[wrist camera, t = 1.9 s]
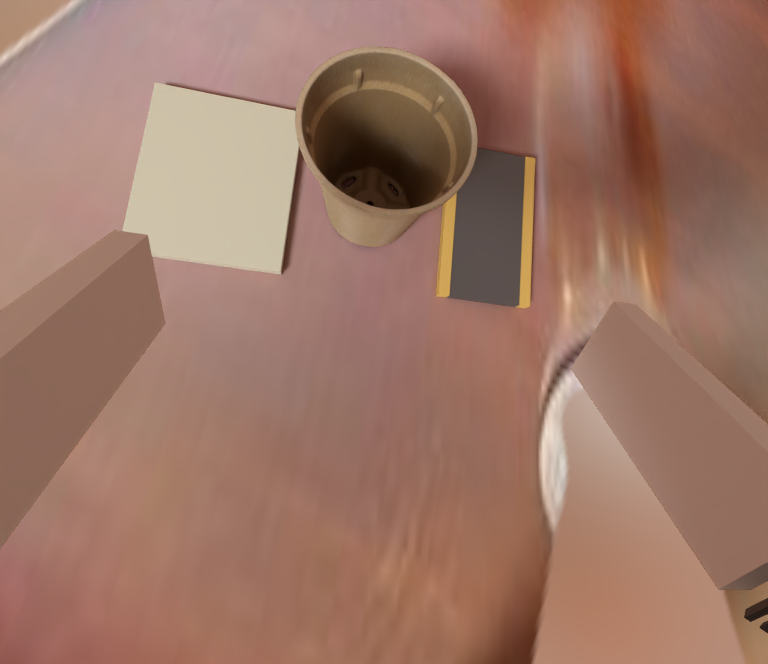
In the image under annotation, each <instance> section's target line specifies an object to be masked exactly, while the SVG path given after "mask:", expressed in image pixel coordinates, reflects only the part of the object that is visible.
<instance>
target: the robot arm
mask: <svg viewBox="0 0 768 664" xmlns="http://www.w3.org/2000/svg"><path fill="white" fill-rule="evenodd" d="M164 325H165V319H164V314H163V309H162V304H161V299H160V294H159V289H158V284H157V278H156V273H155V268H154V263H153V258H152V253H151V248H150V243H149V238H148V235H146V234H139V233H132V232H125V231H118V230H114V231H113V232H111V233H110V234H108V235H107V236H106V237H104V238H103V239H101V240H100V241H98V242H97V243H96V244H94V245H93V246H91V247H90V248H89V249H87V250H86V251H84V252H83V253H82V254H80V255H79V256H77V257H76V258H74V259H73V260H72V261H70V262H69V263H67V264H66V265H65V266H63V267H62V268H60V269H59V270H57V271H56V272H55V273H53V274H52V275H50V276H49V277H48V278H46V279H45V280H43V281H42V282H40V283H39V284H38V285H36V286H35V287H33V288H32V289H31V290H29V291H28V292H26V293H25V294H23V295H22V296H21V297H19V298H18V299H16V300H15V301H14V302H12V303H11V304H9V305H8V306H6V307H5V308H4V309H2V310H1V311H0V549H1V547H2V546H3V545H4V543H5V542H6V541H7V539H8V538H9V536H10V535H11V534H12V532H13V531H14V530H15V528H16V527H17V525H18V524H19V523H20V521H21V520H22V519H23V517H24V516H25V515H26V513H27V512H28V510H29V509H30V508H31V506H32V505H33V504H34V502H35V501H36V500H37V498H38V497H39V495H40V494H41V493H42V491H43V490H44V489H45V487H46V486H47V485H48V483H49V482H50V480H51V479H52V478H53V476H54V475H55V474H56V472H57V471H58V469H59V468H60V467H61V465H62V464H63V463H64V461H65V460H66V459H67V457H68V456H69V454H70V453H71V452H72V450H73V449H74V448H75V446H76V445H77V444H78V442H79V441H80V439H81V438H82V437H83V435H84V434H85V433H86V431H87V430H88V429H89V427H90V426H91V424H92V423H93V422H94V420H95V419H96V418H97V416H98V415H99V413H100V412H101V411H102V409H103V408H104V407H105V405H106V404H107V403H108V401H109V400H110V398H111V397H112V396H113V394H114V393H115V392H116V390H117V389H118V388H119V386H120V385H121V383H122V382H123V381H124V379H125V378H126V377H127V375H128V374H129V373H130V371H131V370H132V368H133V367H134V366H135V364H136V363H137V362H138V360H139V359H140V357H141V356H142V355H143V353H144V352H145V351H146V349H147V348H148V347H149V345H150V344H151V342H152V341H153V340H154V338H155V337H156V336H157V334H158V333H159V332H160V330H161V329H162V327H163V326H164ZM571 370H572V371H573V373H574V374H575V376H576V377H577V379H578V380H579V382H580V383H581V385H582V386H583V388H584V389H585V391H586V392H587V393H588V395H589V397H590V398H591V400H592V401H593V403H594V404H595V406H596V407H597V409H598V410H599V412H600V413H601V414H602V416H603V418H604V419H605V420H606V422H607V424H608V425H609V426H610V428H611V430H612V431H613V433H614V434H615V436H616V437H617V438H618V440H619V441H620V443H621V444H622V446H623V447H624V449H625V450H626V452H627V453H628V455H629V456H630V458H631V459H632V461H633V462H634V464H635V465H636V467H637V468H638V470H639V471H640V473H641V474H642V476H643V477H644V479H645V480H646V482H647V483H648V485H649V486H650V488H651V489H652V491H653V492H654V494H655V495H656V497H657V498H658V500H659V501H660V503H661V504H662V506H663V507H664V509H665V510H666V512H667V513H668V515H669V516H670V518H671V519H672V521H673V522H674V524H675V525H676V527H677V528H678V530H679V531H680V533H681V534H682V535H683V537H684V539H685V540H686V542H687V543H688V545H689V546H690V548H691V549H692V550H693V552H694V554H695V555H696V557H697V558H698V560H699V561H700V563H701V564H702V565H703V567H704V569H705V570H706V571H707V573H708V574H709V576H710V577H711V579H712V580H713V582H714V583H715V585H716V586H717V588H718V589H720V590H751V589H753V588H755V587H757V586H759V585H761V584H763V583H765V582H766V581H768V424H767V423H766V422H765V421H764V420H763V419H761V418H760V417H759V416H758V415H757V414H756V413H755V412H754V411H753V410H752V409H750V408H749V407H748V406H747V405H746V404H745V403H744V402H743V401H742V400H740V399H739V398H738V397H737V396H736V395H735V394H734V393H733V392H732V391H731V390H729V389H728V388H727V387H726V386H725V385H724V384H723V383H722V382H721V381H720V380H718V379H717V378H716V377H715V376H714V375H713V374H712V373H711V372H710V371H708V370H707V369H706V368H705V367H704V366H703V365H702V364H701V363H700V362H699V361H697V360H696V359H695V358H694V357H693V356H692V355H691V354H690V353H689V352H688V351H686V350H685V349H684V348H683V347H682V346H681V345H680V344H679V343H678V342H677V341H675V340H674V339H673V338H672V337H671V336H670V335H669V334H668V333H667V332H665V331H664V330H663V329H662V328H661V327H660V326H659V325H658V324H657V323H656V322H654V321H653V320H652V319H651V318H650V317H649V316H648V315H647V314H646V313H645V312H643V311H642V310H641V309H640V308H639V307H638V306H637V305H634V304H627V303H620V302H613V303H612V305H611V306H610V308H609V310H608V311H607V313H606V314H605V316H604V317H603V319H602V320H601V322H600V324H599V325H598V327H597V328H596V330H595V331H594V333H593V335H592V336H591V338H590V339H589V341H588V342H587V344H586V346H585V347H584V349H583V350H582V352H581V353H580V355H579V357H578V358H577V360H576V361H575V363H574V364H573V366H572V368H571ZM767 614H768V598H767V599H765V600H763V601H761V602H759V603H757V604H755V605H752V606H751V607H749V608H747V609H746V611H745V616H744V618H746V619H747V620H749V621H750V622H751V621H753V620H756V619H758V618H760V617H762V616H764V615H767ZM760 628H761V629H762V630H764V631H765V632H767V633H768V621H766V622H764V623H763V624H762V625H761V626H760Z"/></svg>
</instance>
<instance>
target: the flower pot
mask: <svg viewBox="0 0 768 664" xmlns="http://www.w3.org/2000/svg"><path fill="white" fill-rule="evenodd" d="M295 128H296V135H297V140H298V144H299V147H300V150H301V152H302V155H303V157H304V160H305V161H306V163H307V165H308V167H309V169H310V170H311V172H312V173H313V175H314V176H315V177H316V178H317V180H318V181H319V182H320V185H321V188H322V192H323V196H324V200H325V205H326V209H327V214H328V217H329V219H330V222H331V223H332V225H333V227H334V228H335V229H336V231H337V232H338V233H339V234H340V235H341V236H343V237H344V238H345V239H347V240H348V241H350V242H352V243H354V244H358V245H363V246H371V247H380V246H384V245H387V244H389V243H392V242H393V241H395V240H397V239H398V238H399V237H400V236H401V235H402V234H403V233H404V232H405V230H406V229H407V228H408V227H409V226H410V225H411V224H412V223H413V222H414V221H415V220H416V219H417V218H418V217H419V216H420V215H421V214H422V213H425V212H428V211H431V210H433V209H435V208H437V207H439V206H441V205H442V204H444V203H445V202H447V201H448V200H449V199H450V198H452V197H453V196H454V195H455V194H456V193H457V192H458V190H459V189H460V188H461V187H462V186H463V184H464V183H465V181H466V180H467V178H468V177H469V175H470V173H471V170H472V168H473V165H474V162H475V159H476V155H477V146H478V136H477V125H476V122H475V118H474V115H473V112H472V110H471V107H470V105H469V103H468V101H467V99H466V97H465V96H464V95H463V93H462V91H461V90H460V89H459V88H458V86H457V85H456V83H455V82H454V81H452V79H450V78H449V76H447V75H446V74H445V73H444V72H443V71H441V70H440V69H439V68H438V67H436V66H435V65H433V64H432V63H430V62H428V61H427V60H425V59H424V58H420V57H419V56H417V55H415V54H412V53H409V52H406V51H402V50H399V49H395V48H388V47H361V48H354V49H352V50H348V51H345V52H342V53H340V54H337V55H336V56H334V57H332V58H330V59H329V60H327V61H326V62H325V63H323V64H322V65H321V66H320V67H318V68H317V69H316V71H314V72H313V74H312V75H311V76H310V77H309V79H308V80H307V82H306V84H305V86H304V88H303V89H302V91H301V93H300V95H299V99H298V101H297V106H296V112H295ZM351 177H355V179H356V181H355V182H354V183H352V184H351V185H349V186H348V187H346V189H344V188H343V187H342V186H341V185H342V183H343V181H345V180H347V179H350V178H351ZM389 183H390V184H391V185H392V186H393V187H394V188H395V189H396V190H397V191H398V196H396V195H395V194H394V193H393V192H391V189H390V188H389V186H388V185H389ZM368 202H372V203H373V206H371V205H368Z"/></svg>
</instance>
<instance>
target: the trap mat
mask: <svg viewBox="0 0 768 664" xmlns="http://www.w3.org/2000/svg"><path fill="white" fill-rule="evenodd" d="M534 180H535V158H531V157H522V156H517V155H512V154H507V153H502V152H497V151H492V150H487V149H482V148H477V155H476V159H475V162H474V165H473V168H472V170H471V173H470V175H469V177H468V178H467V180H466V181H465V183H464V184H463V186H462V187H461V188H460V189H459V190H458V192H457V193H456V194H455V195H454V196H453V197H452V198H450V199H449V200H448V201H447V202H445V203H444V204H443V208H442V221H441V234H440V247H439V260H438V273H437V286H436V296H440V297H447V298H454V299H461V300H469V301H476V302H483V303H490V304H497V305H505V306H512V307H519V308H527V307H530V292H531V264H532V236H533V208H534Z"/></svg>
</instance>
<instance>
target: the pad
mask: <svg viewBox="0 0 768 664" xmlns="http://www.w3.org/2000/svg"><path fill="white" fill-rule="evenodd" d="M295 112H296V111H294V110H289V109H284V108H279V107H274V106H269V105H264V104H259V103H254V102H249V101H244V100H239V99H234V98H229V97H224V96H219V95H214V94H209V93H205V92H200V91H195V90H190V89H185V88H180V87H175V86H170V85H165V84H160V83H155V86H154V90H153V95H152V99H151V104H150V108H149V113H148V117H147V122H146V126H145V131H144V135H143V140H142V145H141V149H140V154H139V158H138V163H137V167H136V172H135V176H134V181H133V185H132V190H131V194H130V199H129V203H128V208H127V213H126V217H125V222H124V226H123V231H125V232H132V233H139V234H146V235H148V238H149V243H150V248H151V253H152V257H159V258H166V259H173V260H180V261H187V262H195V263H202V264H209V265H216V266H223V267H231V268H238V269H245V270H252V271H259V272H267V273H274V274H282V267H283V260H284V253H285V246H286V239H287V232H288V226H289V219H290V212H291V205H292V198H293V191H294V185H295V178H296V171H297V164H298V157H299V150H300V147H299V144H298V140H297V135H296V128H295Z"/></svg>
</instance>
